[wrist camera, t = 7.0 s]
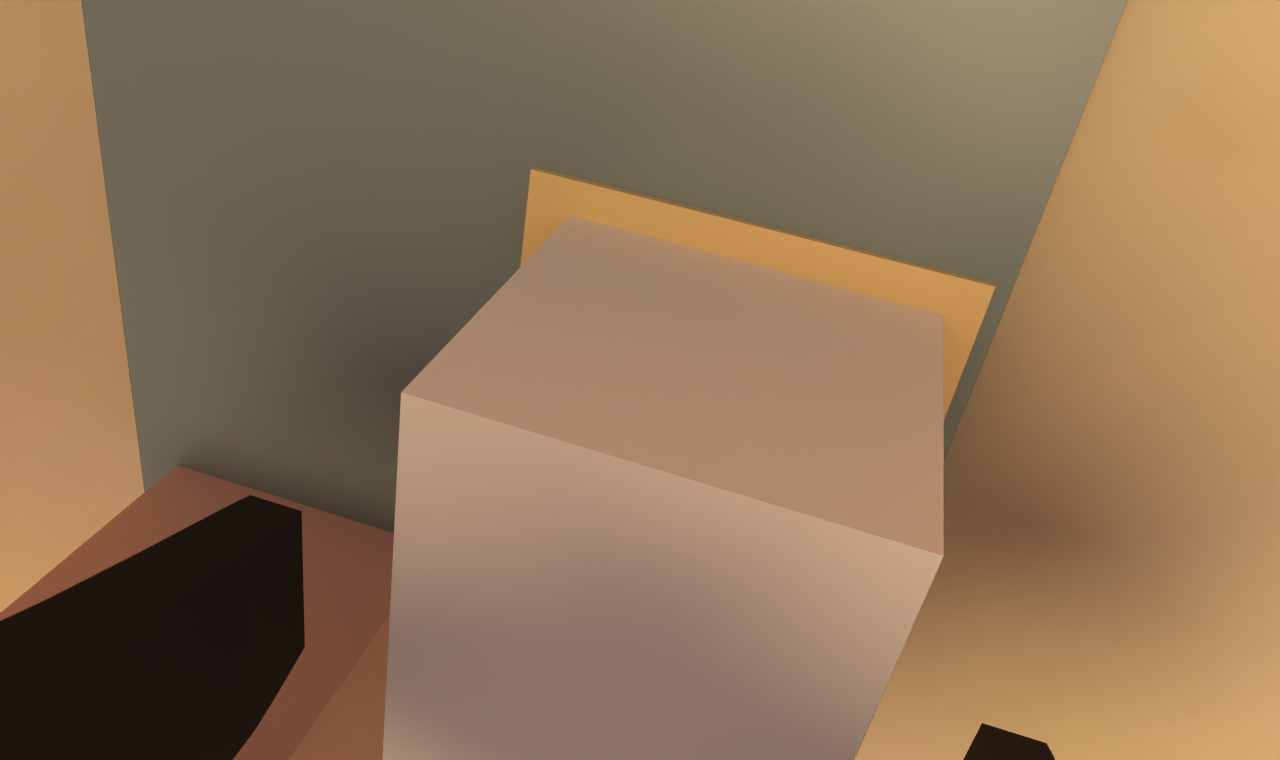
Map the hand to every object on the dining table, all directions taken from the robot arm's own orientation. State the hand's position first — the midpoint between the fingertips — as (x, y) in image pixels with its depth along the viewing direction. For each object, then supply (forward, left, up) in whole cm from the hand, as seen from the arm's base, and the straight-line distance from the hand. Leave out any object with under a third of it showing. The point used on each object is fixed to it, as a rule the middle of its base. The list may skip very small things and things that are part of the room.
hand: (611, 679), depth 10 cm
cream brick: (0, 0, -4) cm, 4 cm away
